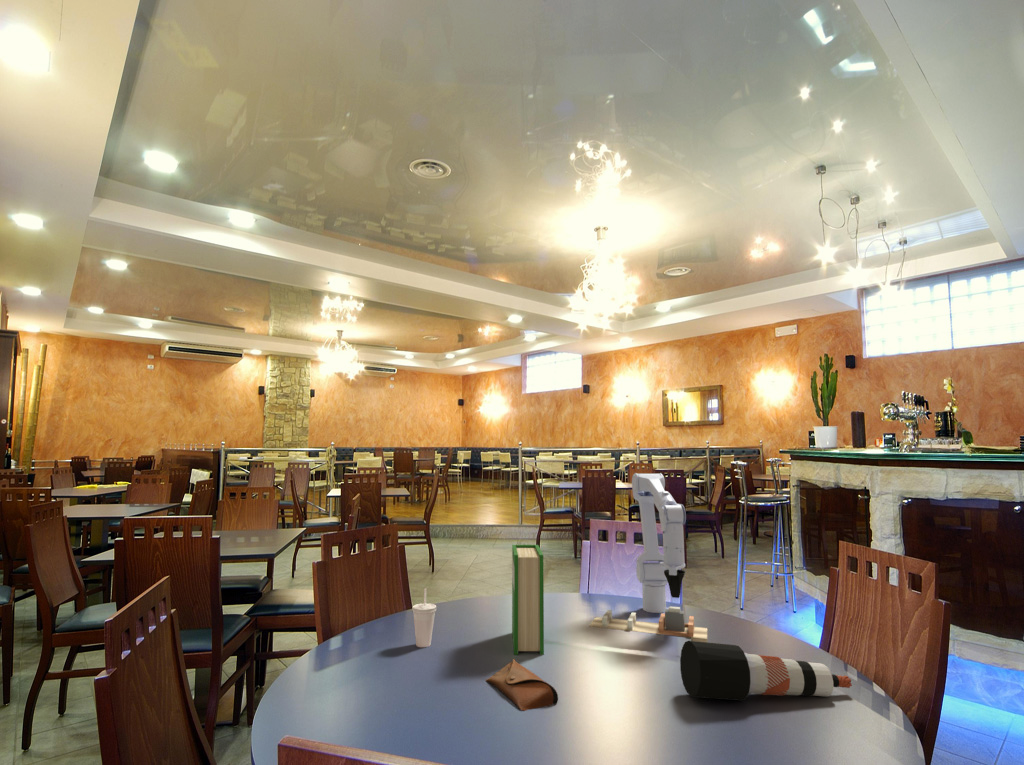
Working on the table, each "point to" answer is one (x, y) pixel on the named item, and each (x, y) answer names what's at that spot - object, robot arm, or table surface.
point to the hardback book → (527, 599)
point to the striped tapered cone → (750, 673)
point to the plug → (674, 619)
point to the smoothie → (424, 622)
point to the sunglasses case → (523, 687)
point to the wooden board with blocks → (649, 626)
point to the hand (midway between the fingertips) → (675, 597)
